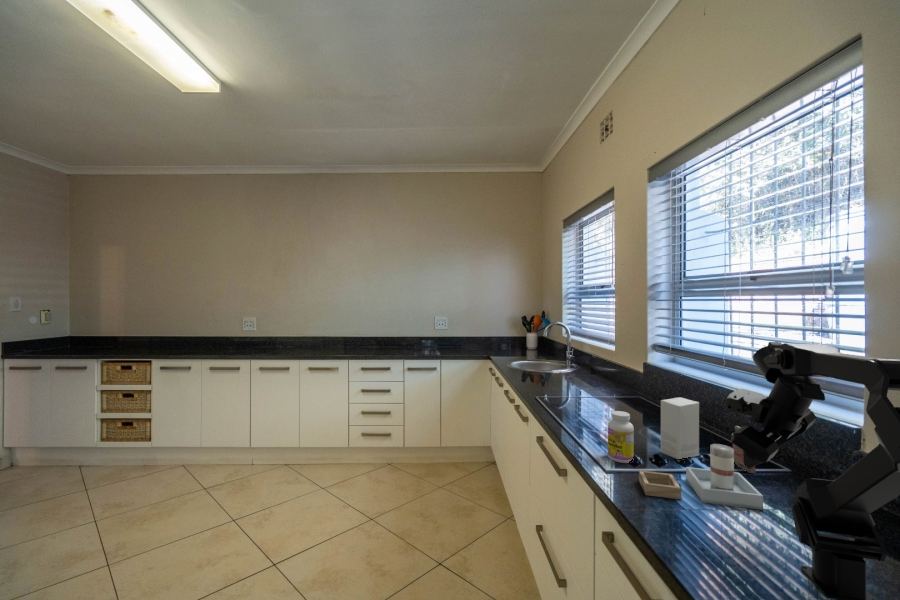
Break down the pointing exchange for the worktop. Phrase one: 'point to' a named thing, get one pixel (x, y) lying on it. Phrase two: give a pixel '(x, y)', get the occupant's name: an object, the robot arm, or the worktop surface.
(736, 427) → the lighter
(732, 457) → the white domed canister
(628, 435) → the supplement bottle
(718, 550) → the worktop surface
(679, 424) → the skincare box
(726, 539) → the worktop surface
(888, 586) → the worktop surface
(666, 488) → the holder
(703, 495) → the tray
